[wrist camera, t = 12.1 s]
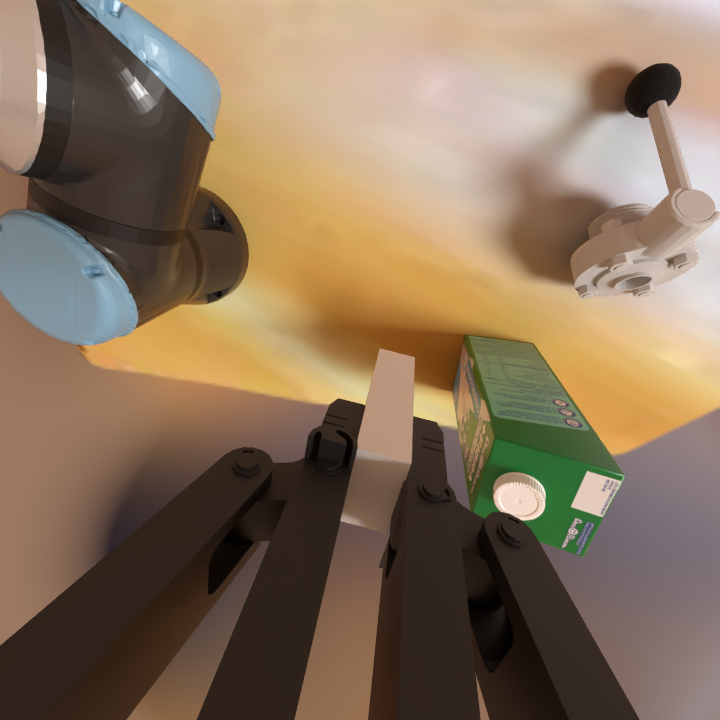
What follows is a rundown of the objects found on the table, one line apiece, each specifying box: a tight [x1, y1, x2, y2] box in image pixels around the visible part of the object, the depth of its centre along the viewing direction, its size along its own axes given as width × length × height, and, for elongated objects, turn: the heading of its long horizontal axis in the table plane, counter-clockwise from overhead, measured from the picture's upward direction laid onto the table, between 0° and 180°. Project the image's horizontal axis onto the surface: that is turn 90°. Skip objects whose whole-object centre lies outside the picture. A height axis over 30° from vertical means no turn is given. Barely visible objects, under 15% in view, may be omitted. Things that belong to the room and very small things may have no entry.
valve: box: [570, 63, 720, 299], centre depth 39 cm, size 10×18×15 cm
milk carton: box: [453, 335, 625, 557], centre depth 41 cm, size 9×9×25 cm
